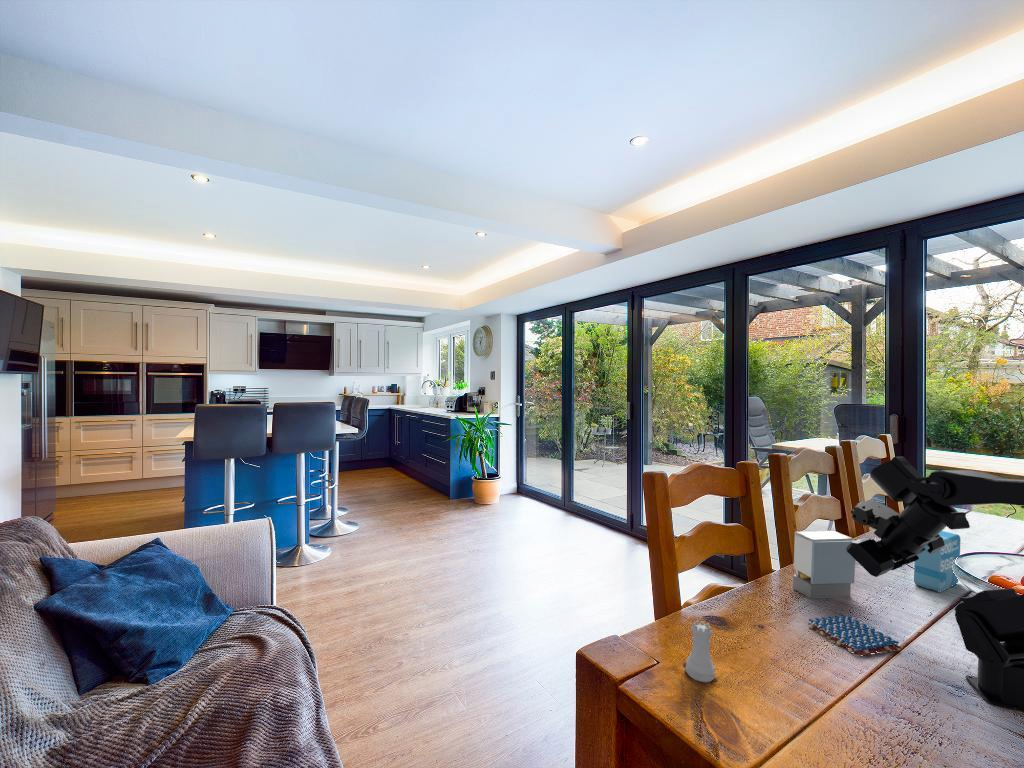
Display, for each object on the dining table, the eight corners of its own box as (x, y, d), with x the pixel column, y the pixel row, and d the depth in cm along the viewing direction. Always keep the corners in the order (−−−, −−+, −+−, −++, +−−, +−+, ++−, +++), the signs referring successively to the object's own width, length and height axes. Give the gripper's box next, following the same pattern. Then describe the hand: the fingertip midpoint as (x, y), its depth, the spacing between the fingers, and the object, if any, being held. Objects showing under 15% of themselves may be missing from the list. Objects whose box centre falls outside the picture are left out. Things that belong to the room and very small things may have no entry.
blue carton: (937, 593, 104) (940, 541, 104) (913, 585, 108) (915, 535, 108) (959, 583, 110) (961, 533, 110) (934, 576, 114) (936, 528, 114)
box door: (854, 582, 101) (855, 541, 101) (812, 584, 100) (814, 542, 99) (851, 581, 101) (853, 540, 101) (810, 583, 100) (812, 541, 100)
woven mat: (859, 661, 79) (859, 650, 79) (805, 628, 89) (805, 618, 89) (904, 654, 81) (905, 642, 81) (846, 622, 92) (847, 612, 91)
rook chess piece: (690, 662, 76) (692, 614, 76) (718, 673, 74) (720, 624, 73) (681, 675, 73) (682, 625, 73) (710, 688, 70) (712, 636, 70)
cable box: (850, 596, 102) (852, 538, 101) (810, 598, 100) (812, 539, 100) (831, 586, 107) (833, 530, 106) (792, 588, 105) (794, 531, 105)
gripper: (909, 478, 91) (866, 525, 101) (843, 500, 85) (804, 548, 95) (969, 523, 83) (917, 570, 93) (901, 551, 77) (852, 598, 87)
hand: (871, 570), depth 92 cm, fingers closed
